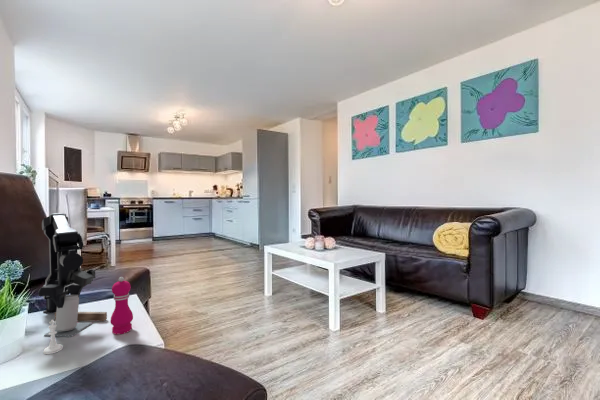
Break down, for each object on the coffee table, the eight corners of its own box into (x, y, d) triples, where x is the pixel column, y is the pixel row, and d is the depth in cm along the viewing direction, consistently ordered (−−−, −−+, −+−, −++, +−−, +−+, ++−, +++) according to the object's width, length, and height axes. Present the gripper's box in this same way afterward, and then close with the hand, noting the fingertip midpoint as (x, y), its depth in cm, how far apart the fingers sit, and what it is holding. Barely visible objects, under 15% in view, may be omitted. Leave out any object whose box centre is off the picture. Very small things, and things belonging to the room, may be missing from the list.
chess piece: (50, 346, 100) (49, 316, 100) (66, 345, 100) (65, 316, 100) (39, 354, 95) (38, 323, 95) (55, 353, 96) (55, 322, 95)
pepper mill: (109, 336, 107) (108, 280, 106) (111, 328, 113) (110, 275, 112) (133, 332, 110) (132, 278, 109) (133, 324, 116) (132, 273, 116)
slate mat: (44, 336, 107) (44, 334, 107) (66, 323, 117) (66, 322, 117) (71, 336, 107) (71, 335, 107) (91, 324, 117) (91, 322, 117)
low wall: (54, 320, 120) (54, 313, 120) (58, 318, 122) (57, 311, 121) (104, 321, 119) (104, 313, 119) (106, 319, 121) (106, 312, 121)
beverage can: (65, 332, 106) (69, 297, 108) (49, 331, 107) (53, 296, 109) (80, 327, 113) (84, 294, 114) (65, 326, 114) (69, 293, 115)
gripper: (68, 271, 102) (69, 317, 102) (105, 259, 120) (106, 298, 121) (36, 271, 102) (37, 317, 102) (78, 259, 121) (79, 298, 121)
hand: (68, 307), depth 112 cm, fingers closed on beverage can, 6 cm apart
